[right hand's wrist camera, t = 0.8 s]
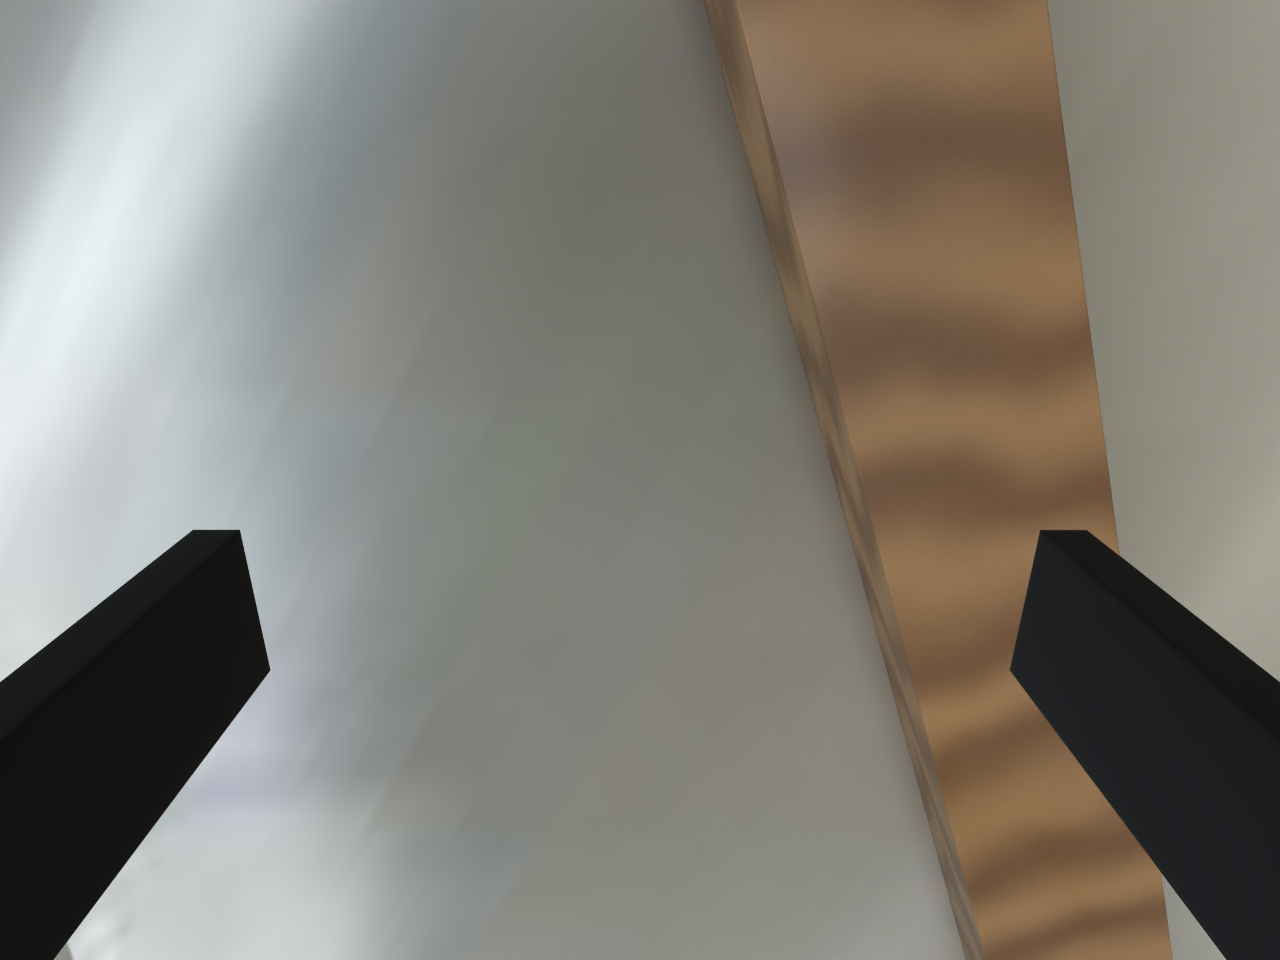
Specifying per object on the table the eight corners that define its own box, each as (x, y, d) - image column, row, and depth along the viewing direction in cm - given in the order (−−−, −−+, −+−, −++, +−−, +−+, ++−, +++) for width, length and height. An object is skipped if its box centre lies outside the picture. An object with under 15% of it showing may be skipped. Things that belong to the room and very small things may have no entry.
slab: (687, -59, 28) (701, -132, 22) (923, -156, 27) (1013, -263, 21) (1026, 1179, 57) (1076, 1308, 51) (1148, 1156, 56) (1215, 1284, 49)
